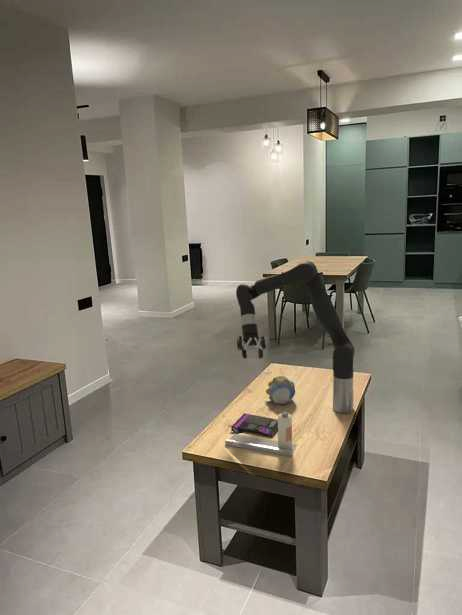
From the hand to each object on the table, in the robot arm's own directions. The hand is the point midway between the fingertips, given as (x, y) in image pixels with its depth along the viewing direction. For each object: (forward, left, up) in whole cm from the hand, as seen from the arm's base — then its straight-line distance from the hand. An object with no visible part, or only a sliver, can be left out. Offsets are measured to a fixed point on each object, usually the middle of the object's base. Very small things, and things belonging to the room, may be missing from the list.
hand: (253, 358), depth 216 cm
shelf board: (-14, +31, -27) cm, 43 cm away
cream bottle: (-24, +30, -26) cm, 46 cm away
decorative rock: (-9, -15, -27) cm, 33 cm away
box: (-7, +16, -28) cm, 33 cm away
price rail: (-14, +35, -26) cm, 45 cm away
